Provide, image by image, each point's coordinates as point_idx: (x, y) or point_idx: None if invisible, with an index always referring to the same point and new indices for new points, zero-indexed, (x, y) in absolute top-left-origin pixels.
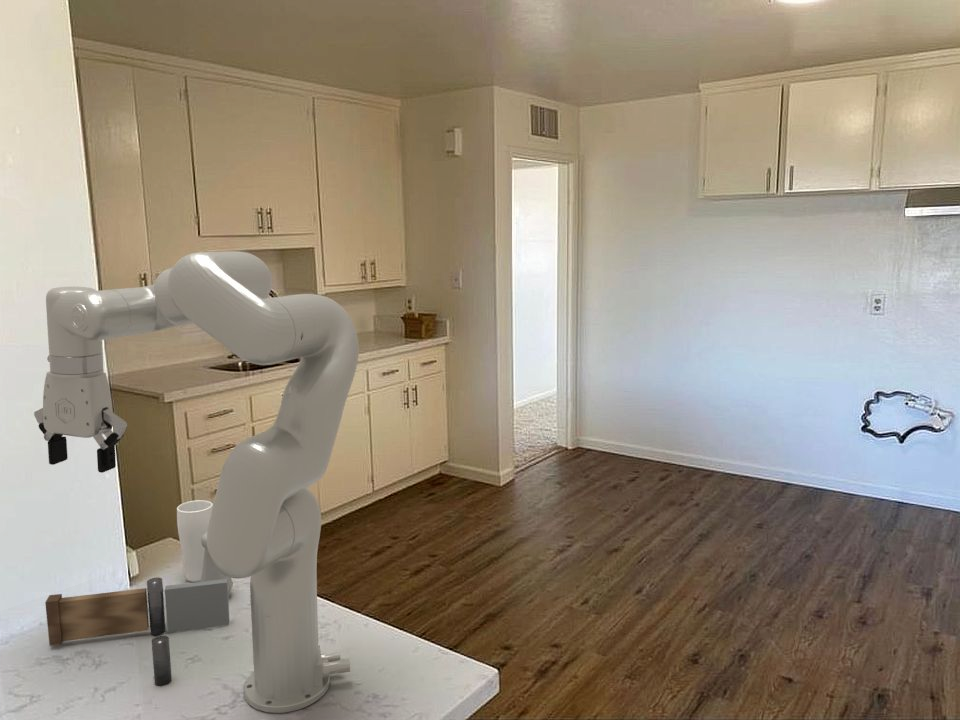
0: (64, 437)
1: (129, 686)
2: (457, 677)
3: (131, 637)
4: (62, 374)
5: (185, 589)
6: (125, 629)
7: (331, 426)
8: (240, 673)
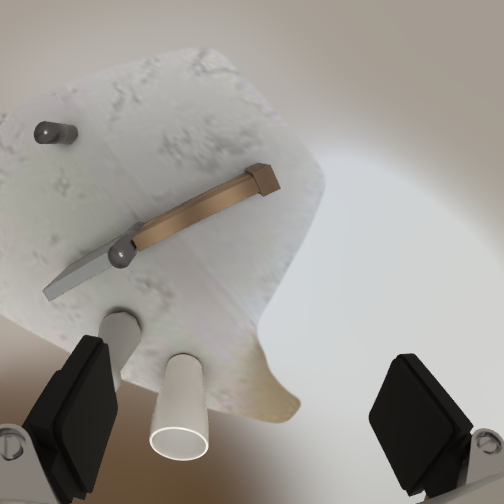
0: (413, 491)
1: (101, 115)
2: None
3: None
4: None
5: (84, 264)
6: (170, 210)
7: None
8: (8, 175)
